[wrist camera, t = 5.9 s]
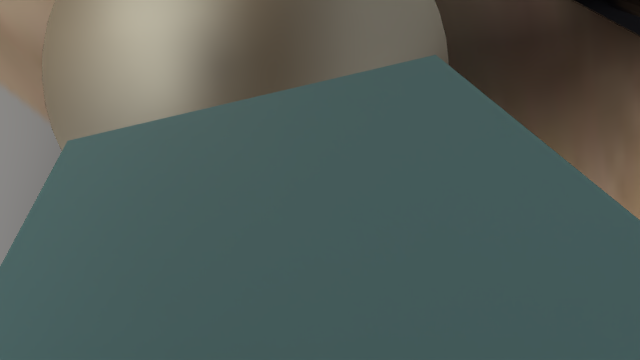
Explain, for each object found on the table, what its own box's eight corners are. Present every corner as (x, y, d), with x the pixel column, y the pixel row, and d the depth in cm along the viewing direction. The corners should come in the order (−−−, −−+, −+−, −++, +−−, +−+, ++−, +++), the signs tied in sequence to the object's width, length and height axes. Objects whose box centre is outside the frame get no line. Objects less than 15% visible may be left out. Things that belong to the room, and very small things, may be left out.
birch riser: (462, -46, 18) (518, -28, 15) (343, 224, 23) (364, 283, 20) (104, -192, 14) (68, -214, 11) (58, 167, 20) (25, 228, 16)
